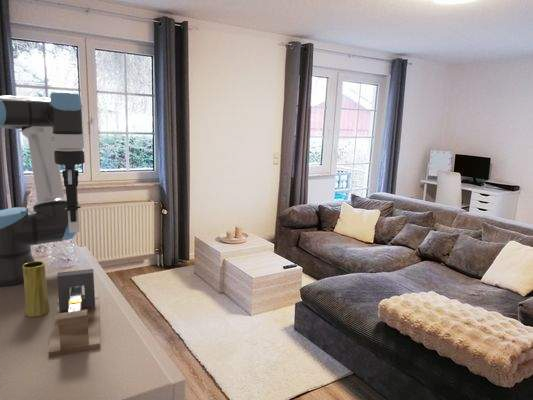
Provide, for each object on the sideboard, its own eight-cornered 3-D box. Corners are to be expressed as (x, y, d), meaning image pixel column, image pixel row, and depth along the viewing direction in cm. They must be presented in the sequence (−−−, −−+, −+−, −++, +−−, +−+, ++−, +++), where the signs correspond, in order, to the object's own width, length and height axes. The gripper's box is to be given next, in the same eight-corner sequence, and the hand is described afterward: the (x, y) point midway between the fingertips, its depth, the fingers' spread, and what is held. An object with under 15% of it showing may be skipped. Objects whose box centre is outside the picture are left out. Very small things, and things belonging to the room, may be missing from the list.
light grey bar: (72, 290, 115) (71, 281, 114) (83, 289, 116) (82, 280, 115) (67, 327, 95) (66, 316, 94) (80, 325, 96) (80, 314, 95)
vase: (38, 318, 108) (34, 269, 106) (19, 315, 110) (14, 266, 107) (54, 308, 114) (51, 261, 112) (36, 305, 116) (32, 259, 113)
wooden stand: (58, 306, 116) (55, 277, 114) (98, 300, 120) (97, 272, 118) (48, 357, 91) (45, 321, 90) (100, 347, 96) (98, 313, 94)
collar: (60, 306, 112) (57, 272, 110) (95, 301, 115) (93, 268, 113) (59, 310, 109) (56, 276, 107) (95, 305, 113) (93, 272, 111)
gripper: (55, 147, 114) (61, 227, 119) (51, 151, 103) (58, 239, 107) (84, 148, 117) (88, 225, 122) (83, 151, 105) (88, 236, 110)
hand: (74, 231), depth 114 cm, fingers closed
